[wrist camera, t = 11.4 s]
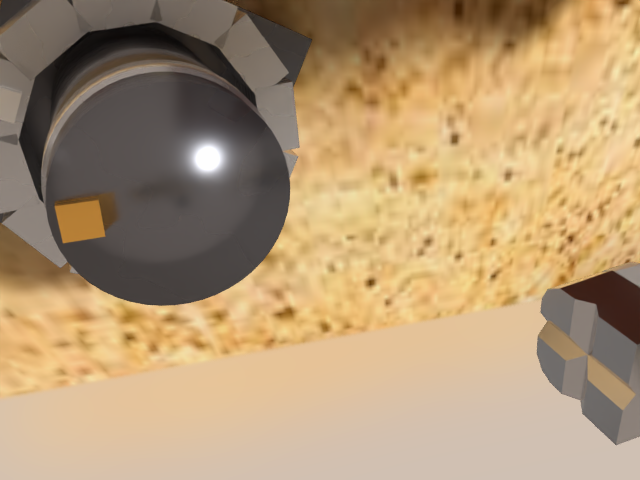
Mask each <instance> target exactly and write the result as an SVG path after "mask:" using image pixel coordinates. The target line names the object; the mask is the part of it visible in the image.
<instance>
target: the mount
mask: <svg viewBox="0 0 640 480" xmlns="http://www.w3.org/2000/svg"><path fill="white" fill-rule="evenodd" d="M125 26H140V27H148V28H151V29H155V30H158V31H161V32H163V33H165V34H168V35H170V36H171V37H173V38H175V39H177V40H178V41H180V42H181V43H182V44H184V45H185V46H186V47H187V48H188V49H189V50H191V51H192V52H193V53H194V54H195V55H196V56H197V57H198V58H199V59H200V60H201V61H202V62H203V63H204V64H205V65H206V66H207V67H208V68H209V69H210V70H211V71H213V72H214V73H215V74H217V75H218V76H220V77H222V78H224V79H225V80H226V81H228V82H229V83H230V84H232V85H233V86H234V87H236V88H237V89H238V90H239V91H240V92H241V93H242V94H243V95H244V96H245V97H246V98H247V99H248V100H249V101H250V102H251V103H252V104H253V105H254V106H255V107H256V108H257V109H258V111H259V112H260V113H261V115H262V116H263V117H264V119H265V121H266V122H267V124H268V126H269V128H270V129H271V131H272V132H273V133H274V135H275V137H276V139H277V141H278V142H279V144H280V146H281V149H282V151H283V154H284V156H285V159H286V163H287V167H288V171H289V178H290V175H291V173H292V170H293V168H294V166H295V163H296V161H297V158H298V156H297V155H296V154H295V153H294V152H293V151H292V150H291V149H295V148H299V147H300V146H299V137H298V128H297V118H296V109H295V100H294V91H293V87H294V84H295V82H296V79H297V77H298V74H299V72H300V69H301V67H302V64H303V61H304V59H305V56H306V54H307V51H308V49H309V46H310V44H311V41H312V39H310V38H308V37H305V36H303V35H301V34H299V33H297V32H294V31H292V30H290V29H288V28H285V27H283V26H281V25H279V24H276V23H274V22H272V21H270V20H267V19H265V18H263V17H261V16H258V15H256V14H254V13H252V12H249V11H247V10H245V9H243V8H240V7H238V6H236V5H234V4H231V3H229V2H227V1H225V0H2V3H1V7H0V223H2V224H3V225H5V226H6V227H7V228H9V229H10V230H11V231H13V232H14V233H15V234H16V235H18V236H19V237H20V238H22V239H23V240H24V241H26V242H27V243H28V244H29V245H31V246H32V247H33V248H35V249H36V250H37V251H39V252H40V253H41V254H43V255H44V256H45V257H46V258H48V259H49V260H50V261H52V262H53V263H54V264H56V265H57V266H58V267H59V268H61V267H62V266H64V265H65V264H66V263H67V260H66V259H65V257H64V256H63V254H62V253H61V251H60V250H59V248H58V246H57V244H56V242H55V240H54V238H53V236H52V233H51V229H50V226H49V223H48V218H47V212H46V208H45V205H44V201H43V195H42V189H41V170H42V159H43V153H44V146H45V142H46V139H47V136H48V133H49V129H50V113H51V97H52V89H53V84H54V80H55V77H56V74H57V72H58V70H59V68H60V65H61V64H62V62H63V61H64V59H65V58H66V56H67V55H68V54H69V53H70V52H71V50H72V49H73V48H74V47H75V46H77V45H78V44H79V43H80V42H81V41H83V40H84V39H86V38H87V37H89V36H91V35H92V34H95V33H97V32H100V31H102V30H105V29H111V28H118V27H125ZM69 266H70V272H71V273H76V274H78V273H77V271H76V270H75V269H74V268H73V267H72V266H71V265H70V264H69Z"/></svg>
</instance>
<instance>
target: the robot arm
mask: <svg viewBox="0 0 640 480" xmlns="http://www.w3.org/2000/svg"><path fill="white" fill-rule="evenodd" d="M541 313H542V315H543V316H544V317H545V319H546V320H547V323H546V324H545V326H544V327H543V329H542V330H541V332H540V333H539V335H538V342H537V355H538V359H539V361H540V365H541V368H542V371H543V372H544V374H545V375H546V377H547V378H548V380H549V381H550V383H551V384H552V385H553V386H554V387H555V388H556V389H557V390H559V392H561V394H564V395H567V396H570V397H573V398H575V399H579V400H581V407H582V413H583V415H585V416H586V417H587V418H588V419H589V420H590V421H591V422H592V423H593V424H594V425H595V426H596V427H597V428H598V429H599V430H600V431H602V432H603V433H604V434H605V435H606V436H607V437H608V438H609V439H610V440H611V441H612V442H613V443H614V444H615V445H618V444H620V443H623V442H626V441H628V440H631V439H634V438H636V437H639V436H640V263H635V262H628V263H625V264H622V265H619V266H616V267H613V268H610V269H607V270H604V271H603V272H601V273H597V274H594V275H590V276H587V277H584V278H581V279H578V280H575V281H572V282H569V283H565V284H562V285H559V286H556V287H553V288H550V289H548V290H547V291H546V293H545V295H544V296H543V298H542V304H541Z"/></svg>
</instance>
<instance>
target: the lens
mask: <svg viewBox="0 0 640 480" xmlns="http://www.w3.org/2000/svg"><path fill="white" fill-rule="evenodd" d="M41 189H42V195H43V201H44V205H45V208H46V212H47V218H48V223H49V226H50V229H51V233H52V236H53V238H54V240H55V242H56V244H57V246H58V248H59V250H60V251H61V253H62V254H63V256H64V257H65V259H66V260H67V262H68V263H69V264H70V265H71V266H72V267H73V268H74V269H75V270H76V271H77V273H78V274H80V275H81V276H82V277H83V278H85V279H86V280H87V281H88V282H89V283H91V284H92V285H94V286H96V287H97V288H99V289H100V290H102V291H104V292H106V293H108V294H111V295H113V296H115V297H118V298H121V299H124V300H127V301H130V302H135V303H140V304H146V305H159V306H162V305H178V304H185V303H191V302H195V301H199V300H203V299H205V298H208V297H211V296H213V295H216V294H218V293H220V292H222V291H224V290H226V289H228V288H230V287H232V286H233V285H235V284H236V283H238V282H239V281H241V280H242V279H243V278H245V277H246V276H247V275H248V274H250V273H251V272H252V271H253V270H254V269H255V268H256V267H257V266H258V265H259V264H260V263H261V262H262V261H263V260H264V258H265V257H266V256H267V254H268V253H269V252H270V250H271V249H272V247H273V246H274V244H275V242H276V241H277V239H278V237H279V235H280V232H281V230H282V228H283V225H284V222H285V219H286V216H287V212H288V206H289V200H290V180H289V171H288V167H287V163H286V159H285V156H284V154H283V151H282V149H281V146H280V144H279V142H278V141H277V139H276V137H275V135H274V133H273V132H272V131H271V129H270V128H269V126H268V124H267V122H266V121H265V119H264V117H263V116H262V115H261V113H260V112H259V111H258V109H257V108H256V107H255V106H254V105H253V104H252V103H251V102H250V101H249V100H248V99H247V98H246V97H245V96H244V95H243V94H242V93H241V92H240V91H239V90H238V89H237V88H236V87H234V86H233V85H232V84H230V83H229V82H228V81H226V80H225V79H224V78H222V77H220V76H218V75H217V74H215V73H214V72H213V71H211V70H210V69H209V68H208V67H207V66H206V65H205V64H204V63H203V62H202V61H201V60H200V59H199V58H198V57H197V56H196V55H195V54H194V53H193V52H192V51H191V50H189V49H188V48H187V47H186V46H185V45H184V44H182V43H181V42H180V41H178V40H177V39H175V38H173V37H171V36H170V35H168V34H165V33H163V32H161V31H158V30H155V29H151V28H148V27H140V26H125V27H118V28H111V29H105V30H102V31H100V32H97V33H95V34H92V35H91V36H89V37H87V38H86V39H84V40H83V41H81V42H80V43H79V44H78V45H77V46H75V47H74V48H73V49H72V50H71V52H70V53H69V54H68V55H67V56H66V58H65V59H64V61H63V62H62V64H61V65H60V68H59V70H58V72H57V74H56V77H55V80H54V84H53V89H52V97H51V113H50V129H49V133H48V136H47V139H46V142H45V146H44V153H43V159H42V170H41Z"/></svg>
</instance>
